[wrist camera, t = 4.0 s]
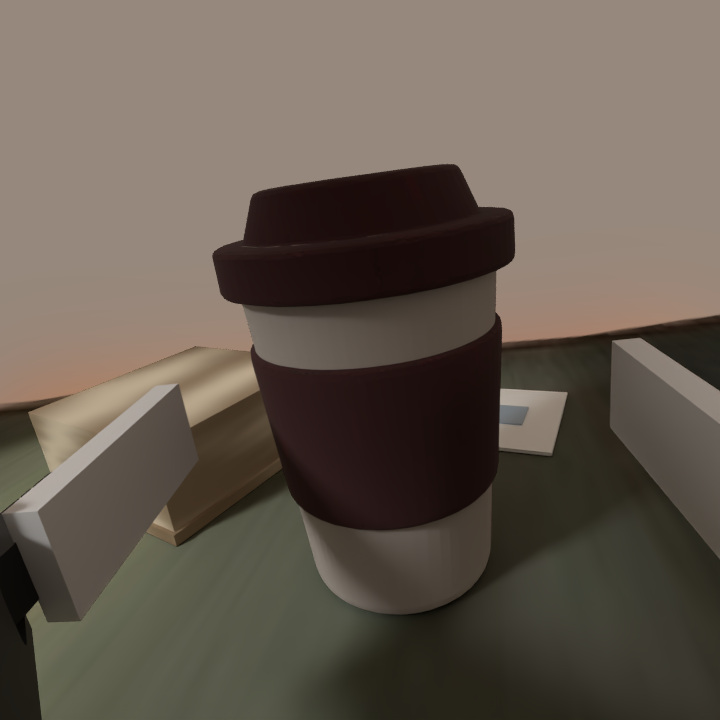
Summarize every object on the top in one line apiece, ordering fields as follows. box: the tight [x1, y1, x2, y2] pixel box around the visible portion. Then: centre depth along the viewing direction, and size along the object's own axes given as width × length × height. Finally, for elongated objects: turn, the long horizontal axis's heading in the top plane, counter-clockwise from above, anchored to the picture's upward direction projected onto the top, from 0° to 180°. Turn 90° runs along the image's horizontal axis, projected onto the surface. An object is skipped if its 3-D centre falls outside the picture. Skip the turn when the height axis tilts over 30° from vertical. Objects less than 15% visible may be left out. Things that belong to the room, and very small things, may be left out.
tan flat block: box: [28, 346, 282, 546], centre depth 31 cm, size 12×12×5 cm
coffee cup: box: [213, 164, 515, 615], centre depth 19 cm, size 10×10×15 cm
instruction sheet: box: [499, 389, 567, 456], centre depth 32 cm, size 10×8×1 cm
